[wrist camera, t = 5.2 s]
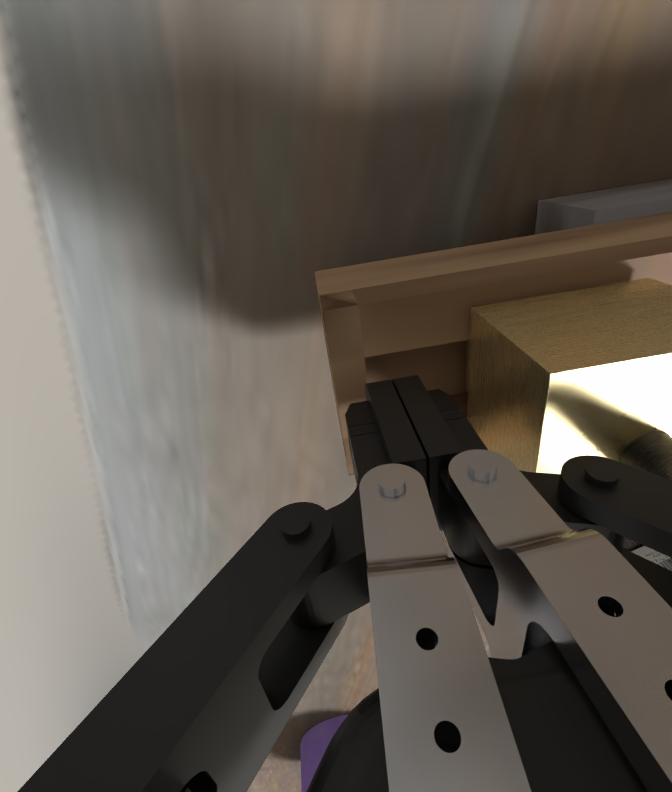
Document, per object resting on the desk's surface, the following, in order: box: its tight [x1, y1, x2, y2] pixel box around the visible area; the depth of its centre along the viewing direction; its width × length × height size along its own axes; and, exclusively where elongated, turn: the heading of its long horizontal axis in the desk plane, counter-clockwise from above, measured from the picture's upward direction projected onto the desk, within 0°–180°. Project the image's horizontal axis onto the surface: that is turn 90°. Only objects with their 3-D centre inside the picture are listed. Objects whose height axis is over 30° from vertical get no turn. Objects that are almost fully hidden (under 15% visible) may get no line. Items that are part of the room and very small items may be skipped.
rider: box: [465, 278, 672, 480], centre depth 10 cm, size 5×5×8 cm
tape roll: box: [300, 714, 348, 792], centre depth 43 cm, size 12×12×5 cm
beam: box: [314, 178, 672, 475], centre depth 17 cm, size 7×28×8 cm, turn 98°
